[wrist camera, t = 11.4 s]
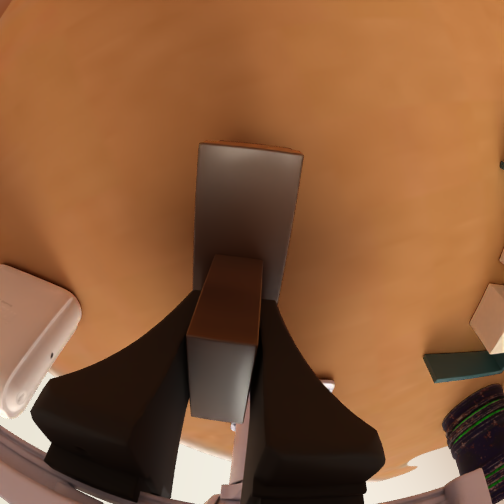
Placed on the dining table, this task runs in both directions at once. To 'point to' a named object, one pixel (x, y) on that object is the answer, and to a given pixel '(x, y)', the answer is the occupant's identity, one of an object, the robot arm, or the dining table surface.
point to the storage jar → (479, 437)
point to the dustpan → (464, 363)
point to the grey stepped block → (236, 266)
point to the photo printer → (30, 334)
